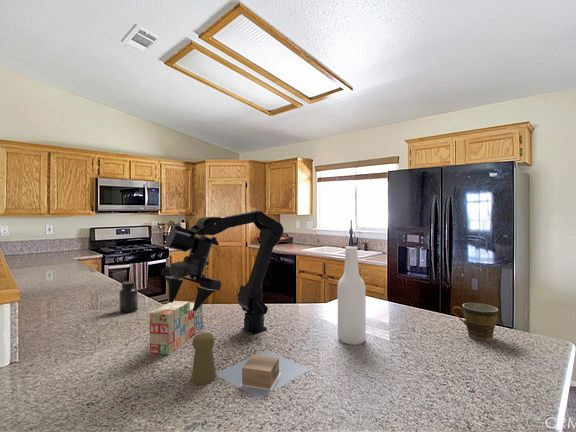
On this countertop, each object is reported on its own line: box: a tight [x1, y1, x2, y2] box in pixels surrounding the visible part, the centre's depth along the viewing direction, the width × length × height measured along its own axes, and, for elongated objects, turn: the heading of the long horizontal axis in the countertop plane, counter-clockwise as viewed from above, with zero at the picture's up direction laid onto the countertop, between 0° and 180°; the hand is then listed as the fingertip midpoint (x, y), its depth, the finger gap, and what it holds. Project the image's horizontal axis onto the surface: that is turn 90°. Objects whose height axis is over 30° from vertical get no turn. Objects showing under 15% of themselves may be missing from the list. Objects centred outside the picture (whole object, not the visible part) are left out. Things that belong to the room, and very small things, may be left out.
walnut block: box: [242, 354, 279, 389], centre depth 75 cm, size 7×7×4 cm
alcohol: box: [337, 245, 367, 346], centre depth 99 cm, size 9×9×30 cm
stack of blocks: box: [149, 300, 204, 356], centre depth 100 cm, size 21×6×12 cm, turn 168°
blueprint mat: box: [216, 349, 310, 400], centre depth 79 cm, size 18×16×1 cm
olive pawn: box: [190, 332, 217, 386], centre depth 76 cm, size 6×6×11 cm
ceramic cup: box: [451, 302, 499, 343], centre depth 101 cm, size 13×10×10 cm
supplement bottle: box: [118, 281, 139, 314], centre depth 130 cm, size 7×7×12 cm
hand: (182, 306), depth 92 cm, fingers open, 9 cm apart
